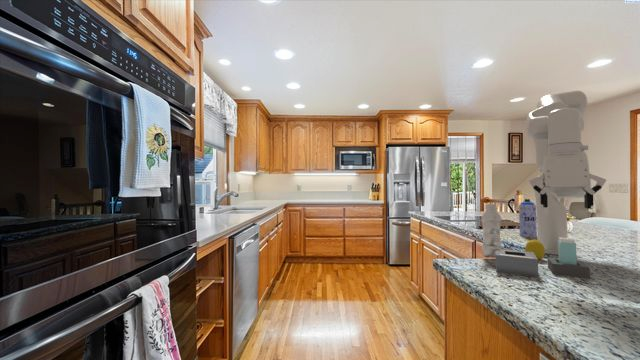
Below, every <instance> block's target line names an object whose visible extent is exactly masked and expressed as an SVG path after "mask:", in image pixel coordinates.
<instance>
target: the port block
mask: <svg viewBox="0 0 640 360" xmlns="http://www.w3.org/2000/svg"><path fill="white" fill-rule="evenodd" d="M495 254H496V257H495V271H496V273H502V274H508V275H515V276H517V275H518V276H523V277H524V276H525V277H532V278H539V260H538V259H537V257H536V256H535V254H534V253H533V252H525V250H523V251H522V250H512V249H504V248H503V249H495Z"/></svg>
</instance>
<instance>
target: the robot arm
mask: <svg viewBox="0 0 640 360" xmlns="http://www.w3.org/2000/svg"><path fill="white" fill-rule="evenodd" d="M587 106H588V98H587V95H586V94H585V93H584V92H583V91H581V90H571V91H566V92H557V93H551V94H547V95H545V96H543V97H541V98H540V99H539V100H538V101H537V103H536V109H535V110H532V111H531V112H529V113H528V114H527V117H526V119H525V120H526V121H525V128H526V129H525V130H526V133H527V137H528V138H530V139H531V140H533V142H534V144H535V145H534V147H535V162H536V168H537V170H538V171H539V172H541V173H542V174H540V175H538V176H536V177H534V178H531V179H529V180H528V182H529V185H530V186H531V187H532V189H533V191H534V192H533V193H534V197H535V203H536V204H535V205H536V221H537V237H536V240H537V241H540V242H541V243H542V244H543V246H544V248H545V254H548V255H557V256H558V240H559V237H561V238H569V237H568V210H567V208H566V205H564V204H563V202H562V201H560V200H559V199H560V198H562V199H563V198H564V199H565V198H567V199H572V198H573V199H574V198H575V199H577V198H578V199H579V198H582V199H583V198H584V199H583V201H584V208H585V209H588V210H591V209H592V207H593V206H594V195H595V194H596V193H598V192H599V191H601V189H602V188H603V186H604V185H605V184H606V182H607V180H606V179H605V178H604V177H601V176H597V175H595V174H592V173H590V166H589V160H588V159H589V158H588V155H587V153H586V151H589V145H588V144H587V145H584V144H583V143H582V131H584V128H585V122H584V121H585V120H584V118H583V116H584V114H585V112H586V110H587ZM592 181H595V182H596V184H595V185H594V186H593V187H592Z"/></svg>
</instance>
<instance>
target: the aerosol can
mask: <svg viewBox="0 0 640 360" xmlns="http://www.w3.org/2000/svg"><path fill="white" fill-rule="evenodd" d="M518 216H519V217H518V218H519V219H518V220H519V223H518V224H519V236H520V237H525V238H526V237H527V238H537V208H536V204H535V203H534V202H532V201H531V200H530V199H529V198H524V201H522V202H520V204H519V205H518Z"/></svg>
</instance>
